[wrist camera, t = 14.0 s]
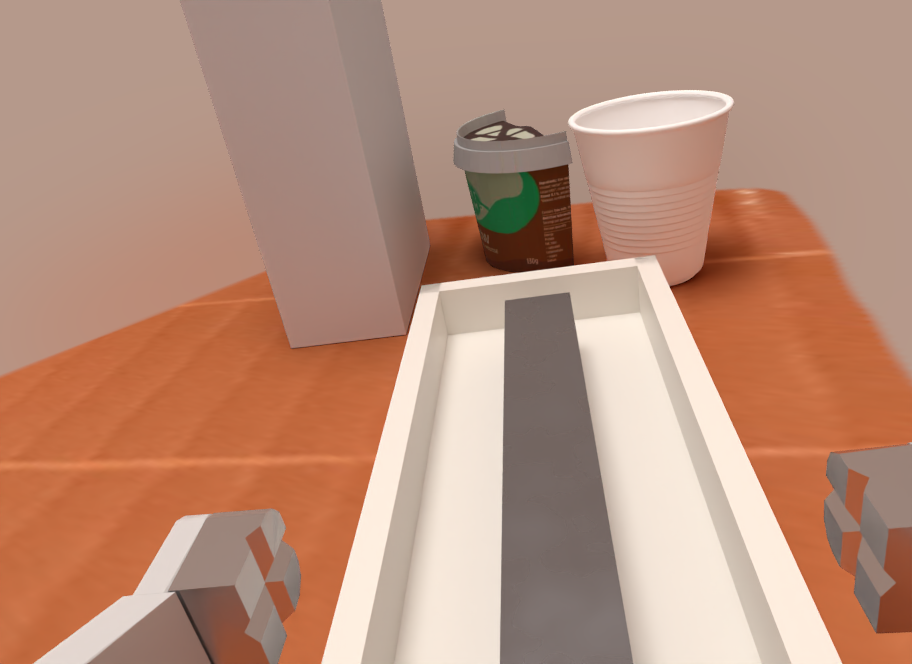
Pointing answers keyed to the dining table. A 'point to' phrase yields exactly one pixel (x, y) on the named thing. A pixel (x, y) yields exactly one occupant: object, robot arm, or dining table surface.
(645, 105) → the cup
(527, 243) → the food container
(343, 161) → the channel block
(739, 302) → the dining table surface
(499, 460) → the tray
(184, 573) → the robot arm
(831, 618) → the dining table surface
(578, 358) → the dark gray bar
